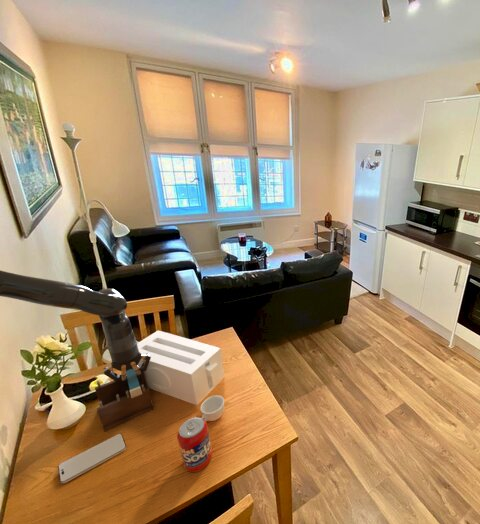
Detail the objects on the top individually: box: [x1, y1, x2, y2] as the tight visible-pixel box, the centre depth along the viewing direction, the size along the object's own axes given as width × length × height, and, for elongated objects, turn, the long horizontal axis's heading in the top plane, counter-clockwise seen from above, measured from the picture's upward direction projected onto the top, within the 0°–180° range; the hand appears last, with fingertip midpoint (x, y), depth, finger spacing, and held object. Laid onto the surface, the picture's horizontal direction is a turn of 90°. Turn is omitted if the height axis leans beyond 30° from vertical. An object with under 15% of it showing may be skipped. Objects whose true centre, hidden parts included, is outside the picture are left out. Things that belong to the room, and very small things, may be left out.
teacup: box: [200, 394, 226, 422], centre depth 102 cm, size 10×8×5 cm
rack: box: [94, 372, 155, 433], centre depth 102 cm, size 14×14×11 cm
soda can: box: [177, 416, 213, 473], centre depth 86 cm, size 8×8×15 cm
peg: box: [126, 369, 142, 398], centre depth 102 cm, size 3×14×3 cm, turn 42°
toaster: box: [137, 329, 226, 406], centre depth 114 cm, size 35×16×15 cm, turn 73°
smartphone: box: [57, 433, 127, 484], centre depth 87 cm, size 7×1×15 cm
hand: (133, 383), depth 103 cm, fingers closed on peg, 2 cm apart
